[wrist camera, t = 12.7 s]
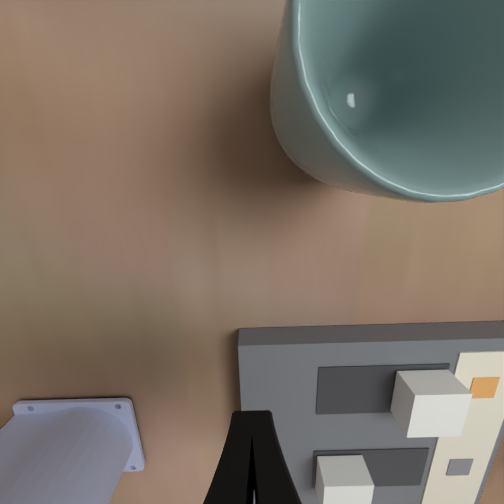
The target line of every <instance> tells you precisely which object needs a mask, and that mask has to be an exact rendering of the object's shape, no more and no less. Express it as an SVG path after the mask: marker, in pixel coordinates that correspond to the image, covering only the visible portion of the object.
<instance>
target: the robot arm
mask: <svg viewBox="0 0 504 504" xmlns="http://www.w3.org/2000/svg"><path fill="white" fill-rule="evenodd" d="M12 408H13V412H14V414H15V415H14V416H13V417H12V418H11V419H10V420H9V421H8V422H7V423H6V424H5V426H4V427H3V428H2V429H1V430H0V504H109V503H110V501H111V498H112V496H113V494H114V491H115V489H116V487H117V485H118V482H119V480H120V478H121V475H122V473H123V472H135V471H142V470H143V469H144V467H145V459H144V454H143V450H142V445H141V441H140V436H139V432H138V427H137V422H136V418H135V413H134V409H133V404H132V401H131V400H130V399H129V398H100V399H63V400H27V401H18V402H16V403H15V404H14V405H13V407H12ZM254 493H255V504H302V503H301V500H300V498H299V495H298V493H297V490H296V488H295V485H294V483H293V480H292V478H291V475H290V472H289V470H288V467H287V464H286V462H285V459H284V456H283V453H282V450H281V447H280V443H279V440H278V437H277V433H276V430H275V426H274V421H273V416H272V412H271V411H269V410H253V411H235V412H234V413H232V418H231V423H230V427H229V431H228V435H227V438H226V442H225V445H224V448H223V451H222V455H221V458H220V460H219V463H218V466H217V469H216V472H215V474H214V477H213V480H212V483H211V485H210V488H209V491H208V493H207V495H206V498H205V500H204V503H203V504H253V501H254Z"/></svg>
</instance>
